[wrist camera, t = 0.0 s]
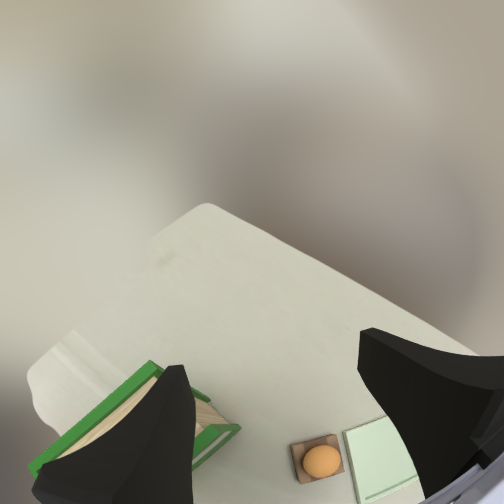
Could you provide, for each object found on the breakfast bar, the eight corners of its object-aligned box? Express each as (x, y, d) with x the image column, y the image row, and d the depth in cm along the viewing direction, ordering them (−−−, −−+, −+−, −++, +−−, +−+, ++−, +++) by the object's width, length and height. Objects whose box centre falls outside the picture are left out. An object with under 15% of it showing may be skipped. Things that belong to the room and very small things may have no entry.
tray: (421, 473, 26) (426, 474, 24) (357, 503, 25) (361, 505, 23) (406, 406, 34) (412, 405, 33) (342, 431, 33) (345, 432, 32)
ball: (337, 468, 28) (348, 473, 24) (304, 478, 27) (310, 485, 23) (331, 440, 31) (341, 441, 27) (297, 449, 30) (303, 452, 26)
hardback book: (206, 395, 37) (149, 359, 18) (241, 427, 34) (220, 433, 15) (131, 459, 30) (27, 465, 11) (163, 492, 27) (75, 533, 8)
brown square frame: (339, 469, 29) (344, 471, 27) (297, 480, 29) (300, 484, 26) (331, 434, 33) (336, 434, 31) (290, 444, 32) (292, 446, 30)
